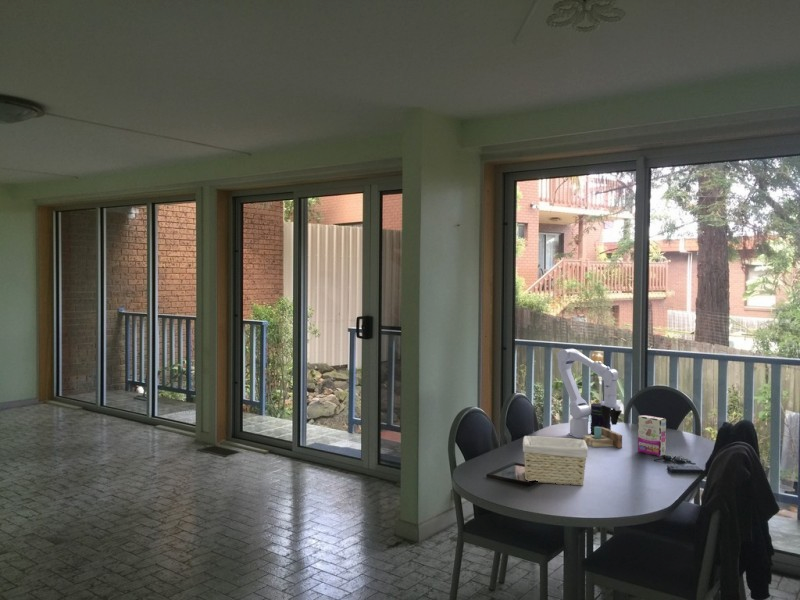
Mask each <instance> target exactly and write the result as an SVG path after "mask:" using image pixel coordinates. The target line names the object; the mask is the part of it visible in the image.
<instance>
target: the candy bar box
mask: <svg viewBox="0 0 800 600" xmlns="http://www.w3.org/2000/svg"><path fill="white" fill-rule="evenodd" d="M666 447H667V418H665V417H664V418H663V417H660V416H659V417H658V416H652V415H647V414H646V415H645V414H644V415H642V414H641V415H638V417H637V452H638V453H642V454H646V455H651V456H656V457H665V456H666V454H667V451H666V450H667V448H666ZM664 455H665V456H664Z"/></svg>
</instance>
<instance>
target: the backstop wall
mask: <svg viewBox="0 0 800 600" xmlns="http://www.w3.org/2000/svg"><path fill="white" fill-rule="evenodd" d="M601 435H603V436H606V437H608V438H610V439H612V440H613V446H612V447H614V446H615V447H614V448H616V447H617V448H616V449H622V448H623V435H622V434H620V433H618V432H616V431H613V430H612V429H611V430H609V429H606V428H604V427H601Z"/></svg>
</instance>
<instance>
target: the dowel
mask: <svg viewBox="0 0 800 600" xmlns="http://www.w3.org/2000/svg"><path fill="white" fill-rule="evenodd" d="M594 439H601V427H594Z"/></svg>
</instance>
